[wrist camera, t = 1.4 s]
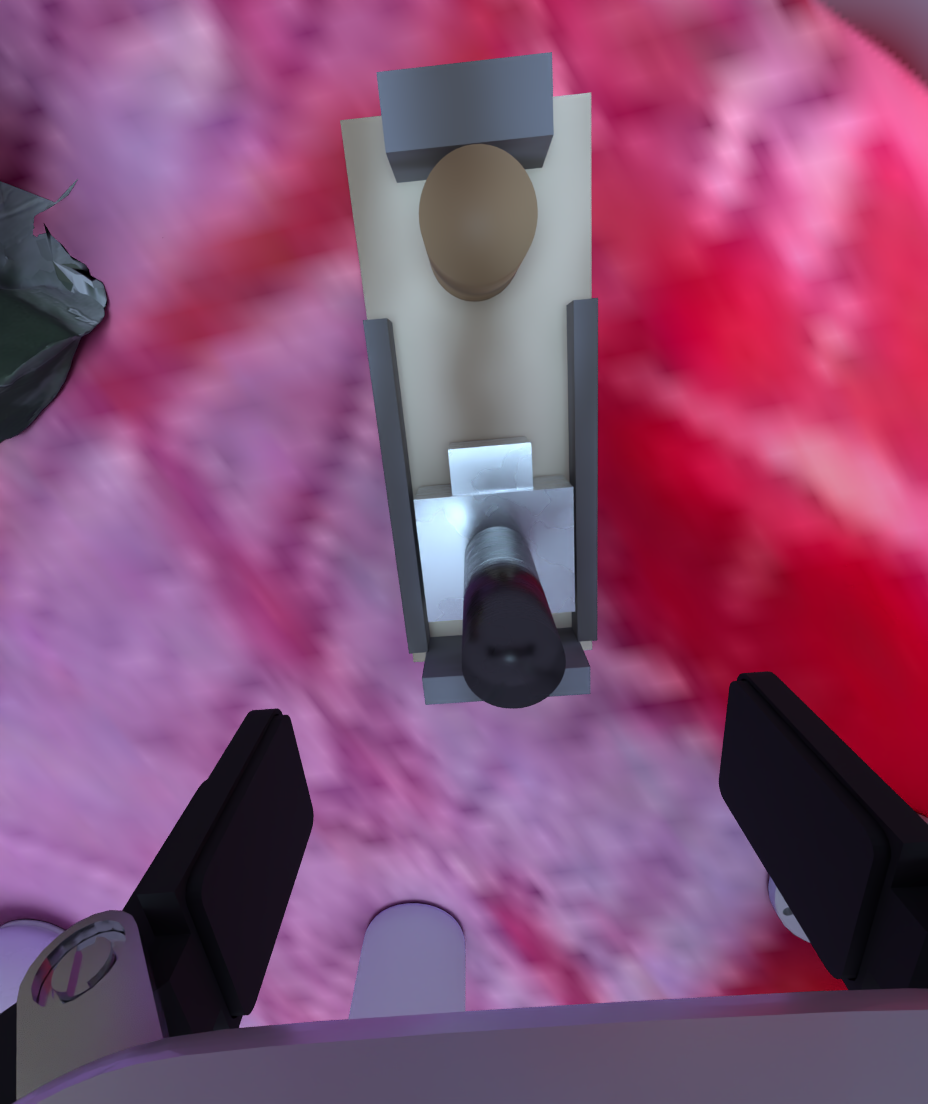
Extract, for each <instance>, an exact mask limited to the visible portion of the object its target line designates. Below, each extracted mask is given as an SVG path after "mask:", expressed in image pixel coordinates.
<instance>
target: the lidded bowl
mask: <svg viewBox="0 0 928 1104" xmlns="http://www.w3.org/2000/svg"><path fill="white" fill-rule="evenodd" d="M64 931H65V930H63V929H61V928H60V927H58V926H55V925H53V924H50V923H47V922H43V921H38V920H29V919H24V920H15V921H11V922H8V923H6V924H4V925H2V926H0V1013H2V1012H3V1011H5V1010H6V1009H8V1008H9V1007H10V1006H12V1005H13V1004H15V1003H16V1002H17V997H18V992H19V987H20V984H21V982H22V980H23V978H24V976H25V974H26V972H27V971H28V969H29V967H30V966H31V964H32V963H33V962H34V961H35V959H36V958H37V957H38V956H39V954H40V953H41V952H42V951H43V950H44V949H45V948H46V947H47V946H48V945H49V944H50V943H51V942H52V941H53V940H54V939H55V938H56V937H57V936H59V935H60V934H61V933H63V932H64Z"/></svg>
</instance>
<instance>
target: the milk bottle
mask: <svg viewBox="0 0 928 1104" xmlns="http://www.w3.org/2000/svg"><path fill="white" fill-rule="evenodd" d="M464 1011H465V938H464V935H463V932H462V930H461V927H460V926H459V924H458V922H457V921H456V920H455V919H454V918H453V917H452V916H451V915H450V914H448V913H447V912H445V911H444V910H441V909H439V908H437V907H434V906H430V905H427V904H419V903H406V904H400V905H396V906H393V907H389V908H388V909H386V910H384V911H382V912H381V913H379V914H378V915H377V916H376V917H375V918H374V919H373V920H372V922H371V923H370V925H369V926H368V928H367V930H366V933H365V936H364V941H363V946H362V950H361V955H360V961H359V966H358V971H357V976H356V982H355V987H354V992H353V998H352V1003H351V1008H350V1014H349V1019H359V1018H374V1017H389V1016H404V1015H419V1014H434V1013H449V1012H464Z"/></svg>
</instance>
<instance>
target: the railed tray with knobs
mask: <svg viewBox="0 0 928 1104" xmlns="http://www.w3.org/2000/svg"><path fill="white" fill-rule="evenodd" d="M377 81H378V89H379V98H380V107H381V116H376V117H367V118H358V119H349V120H340V123H341V130H342V137H343V145H344V152H345V159H346V167H347V174H348V181H349V189H350V196H351V204H352V211H353V218H354V226H355V233H356V240H357V248H358V255H359V262H360V270H361V277H362V285H363V292H364V299H365V307H366V314H367V320H363V324H364V331H365V338H366V346H367V353H368V360H369V367H370V375H371V382H372V389H373V396H374V403H375V411H376V418H377V425H378V432H379V440H380V447H381V454H382V461H383V469H384V476H385V483H386V490H387V497H388V505H389V512H390V519H391V526H392V534H393V541H394V548H395V555H396V562H397V570H398V577H399V584H400V591H401V599H402V606H403V613H404V620H405V627H406V635H407V642H408V649H409V654H410V653H413V660H414V662H423V661H425V663H424V669H423V676H422V681H423V689H424V697H425V704H426V705H429V704H444V703H459V702H474V701H483V700H482V699H480V698H479V697H478V696H476V695H475V694H474V693H473V692H472V691H471V689H470V688H469V687H468V685H467V683H466V681H465V679H464V676H463V672H462V630H463V620H451V621H437V622H428V616H427V608H426V599H425V591H424V583H423V575H422V566H421V558H420V550H419V542H418V533H417V525H416V517H415V509H414V498H415V495H416V493H417V491H418V489H419V487H423V486H435V485H447V484H451V477H450V466H449V456H448V448H449V444H450V443H452V442H464V441H476V440H487V439H499V438H511V437H522V436H526V437H527V439H528V440H529V441H530V442H531V449H532V474H533V477H544V476H556V475H563V476H564V477H565V479H566V480H567V481H568V482H569V483H570V484H571V485H572V486H573V495H574V566H575V612H562V613H552V616H553V619H554V622H555V625H556V628H557V631H558V634H559V637H560V639H561V642H562V645H563V648H564V652H565V656H566V668H565V673H564V675H563V678H562V680H561V682H560V684H559V685H558V687H557V688H556V689H555V690H554V691H553V693H552V694H550V695H549V696H548V697H550V696H565V695H580V694H590V665H589V663H588V660H587V658H586V656H585V653H584V651H583V650H592V641H595V640H597V491H598V298H592V299H591V93H584V94H575V95H566V96H557V97H553V81H552V52H550V53H541V54H533V55H524V56H515V57H506V58H497V59H489V60H480V61H471V62H462V63H454V64H445V65H436V66H427V67H419V68H410V69H401V70H392V71H384V72H377ZM471 144H486V145H491V146H495V147H498V148H500V149H502V150H504V151H506V152H507V153H509V154H510V155H512V156H513V157H514V158H515V159H516V160H517V161H518V162H519V163H520V164H521V165H522V166H523V168H524V169H525V171H526V172H527V174H528V176H529V178H530V180H531V182H532V184H533V187H534V190H535V194H536V199H537V207H538V220H537V227H536V232H535V236H534V239H533V241H532V244H531V246H530V248H529V250H528V252H527V254H526V256H525V257H524V259H523V261H522V263H521V265H520V267H519V269H518V270H517V272H516V274H515V276H514V278H513V279H512V281H511V282H510V284H509V285H508V286H507V287H506V288H505V289H504V290H503V291H502V292H501V293H499V294H498V295H496V296H494V297H492V298H490V299H487V300H484V301H477V302H472V301H465V300H461V299H459V298H457V297H455V296H453V295H451V294H450V293H449V292H447V291H446V290H445V289H444V288H443V287H442V286H441V285H440V283H439V282H438V281H437V279H436V277H435V275H434V273H433V271H432V268H431V265H430V262H429V258H428V255H427V252H426V248H425V245H424V242H423V238H422V235H421V231H420V225H419V203H420V197H421V193H422V190H423V187H424V184H425V182H426V180H427V178H428V176H429V174H430V172H431V171H432V169H433V168H434V167H435V166H436V164H437V163H438V162H439V161H440V160H441V159H442V158H443V157H445V156H446V155H447V154H449V153H450V152H452V151H454V150H455V149H457V148H460V147H463V146H466V145H471Z"/></svg>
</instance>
